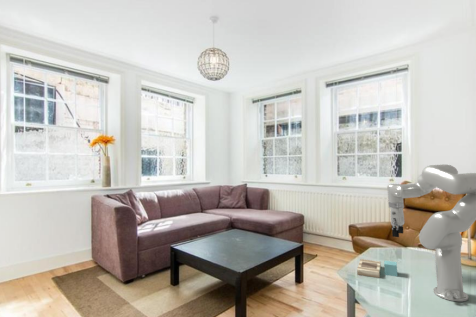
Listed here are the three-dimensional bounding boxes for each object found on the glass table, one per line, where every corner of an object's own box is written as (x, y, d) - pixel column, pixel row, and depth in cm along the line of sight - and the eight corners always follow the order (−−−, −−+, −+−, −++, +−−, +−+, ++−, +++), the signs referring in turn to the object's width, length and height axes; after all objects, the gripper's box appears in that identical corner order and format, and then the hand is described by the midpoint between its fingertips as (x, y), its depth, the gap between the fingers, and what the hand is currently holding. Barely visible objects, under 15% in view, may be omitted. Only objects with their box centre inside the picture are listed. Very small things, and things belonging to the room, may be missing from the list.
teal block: (397, 276, 144) (396, 265, 144) (384, 274, 147) (384, 264, 147) (397, 272, 149) (396, 262, 149) (385, 271, 152) (384, 260, 152)
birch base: (379, 278, 143) (378, 272, 143) (357, 274, 148) (357, 268, 149) (380, 266, 158) (380, 261, 158) (360, 263, 164) (360, 258, 164)
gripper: (399, 207, 143) (401, 239, 142) (407, 203, 155) (409, 232, 155) (384, 206, 148) (386, 237, 148) (392, 202, 161) (394, 231, 160)
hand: (398, 234), depth 151 cm, fingers open, 9 cm apart
